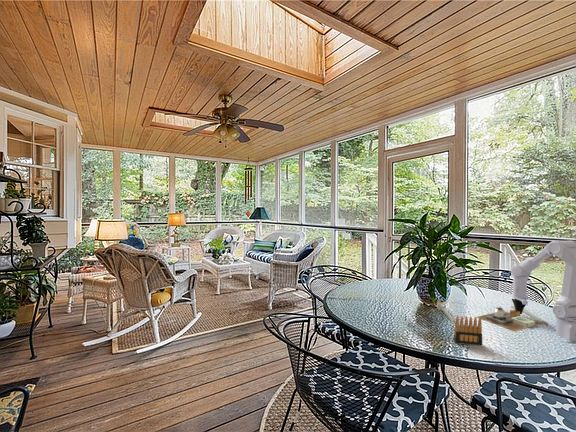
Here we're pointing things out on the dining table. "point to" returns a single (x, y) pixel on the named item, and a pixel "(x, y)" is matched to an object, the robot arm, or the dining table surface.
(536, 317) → the adjustable wrench
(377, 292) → the dining table surface
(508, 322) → the holder
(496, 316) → the peg
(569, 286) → the robot arm
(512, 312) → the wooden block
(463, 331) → the ammunition clip
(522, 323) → the tray
